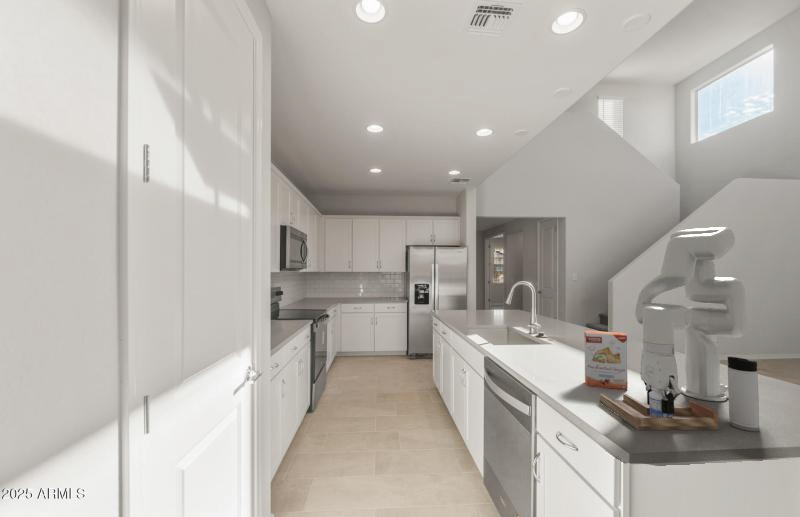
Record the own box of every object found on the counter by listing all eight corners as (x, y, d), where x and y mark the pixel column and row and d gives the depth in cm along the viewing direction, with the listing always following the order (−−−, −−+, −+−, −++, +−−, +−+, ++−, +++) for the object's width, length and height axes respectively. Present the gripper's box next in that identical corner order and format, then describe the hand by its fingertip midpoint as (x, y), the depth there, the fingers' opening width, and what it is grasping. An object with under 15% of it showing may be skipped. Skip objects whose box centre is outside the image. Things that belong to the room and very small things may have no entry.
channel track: (666, 402, 120) (666, 388, 120) (718, 429, 100) (717, 412, 100) (599, 402, 121) (599, 388, 121) (637, 429, 101) (637, 412, 101)
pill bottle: (666, 415, 107) (665, 383, 107) (676, 423, 102) (675, 389, 102) (646, 414, 108) (645, 382, 109) (655, 421, 103) (654, 388, 103)
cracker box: (586, 386, 137) (585, 332, 138) (584, 381, 143) (583, 329, 143) (628, 390, 132) (627, 334, 132) (625, 385, 138) (623, 332, 138)
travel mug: (722, 422, 105) (720, 354, 105) (742, 421, 105) (740, 354, 106) (744, 432, 99) (742, 360, 99) (766, 431, 99) (763, 359, 100)
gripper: (628, 342, 114) (629, 398, 114) (666, 355, 97) (668, 421, 97) (651, 341, 114) (653, 398, 114) (694, 355, 97) (696, 421, 97)
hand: (660, 408), depth 105 cm, fingers closed on pill bottle, 5 cm apart
